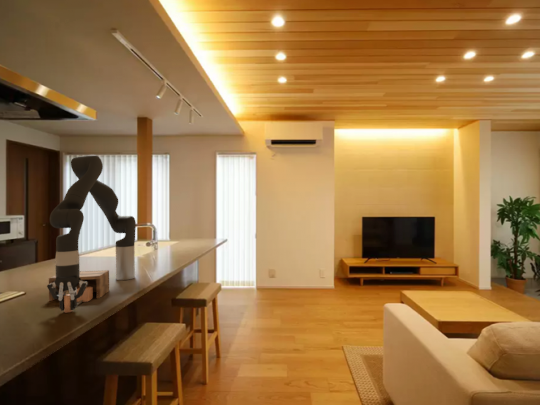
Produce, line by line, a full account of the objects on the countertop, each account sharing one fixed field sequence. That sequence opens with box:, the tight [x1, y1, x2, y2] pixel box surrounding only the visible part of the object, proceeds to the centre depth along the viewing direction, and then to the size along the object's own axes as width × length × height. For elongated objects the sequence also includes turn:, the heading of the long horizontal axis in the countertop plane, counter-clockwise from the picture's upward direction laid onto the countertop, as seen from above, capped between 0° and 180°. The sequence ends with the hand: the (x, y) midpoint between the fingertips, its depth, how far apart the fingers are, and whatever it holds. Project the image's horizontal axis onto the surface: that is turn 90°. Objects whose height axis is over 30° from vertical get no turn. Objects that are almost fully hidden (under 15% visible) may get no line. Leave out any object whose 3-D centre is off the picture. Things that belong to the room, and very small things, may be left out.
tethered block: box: [63, 287, 94, 314], centre depth 128 cm, size 18×5×6 cm, turn 9°
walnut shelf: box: [48, 269, 110, 302], centre depth 142 cm, size 12×20×9 cm, turn 99°
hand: (68, 309), depth 120 cm, fingers closed on tethered block, 2 cm apart
